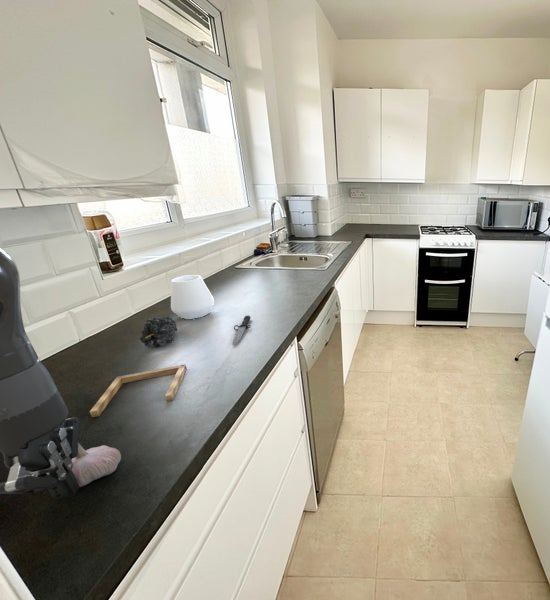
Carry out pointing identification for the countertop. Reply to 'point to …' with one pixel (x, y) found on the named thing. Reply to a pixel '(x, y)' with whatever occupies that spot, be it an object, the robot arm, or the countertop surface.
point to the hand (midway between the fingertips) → (68, 494)
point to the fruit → (158, 331)
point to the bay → (120, 380)
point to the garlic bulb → (94, 463)
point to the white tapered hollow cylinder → (190, 297)
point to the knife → (241, 329)
